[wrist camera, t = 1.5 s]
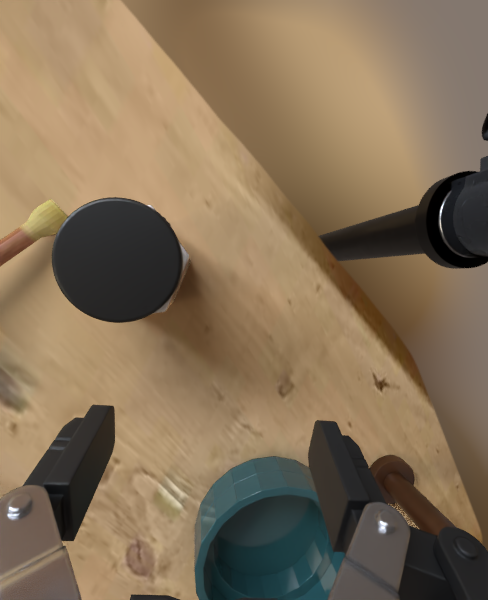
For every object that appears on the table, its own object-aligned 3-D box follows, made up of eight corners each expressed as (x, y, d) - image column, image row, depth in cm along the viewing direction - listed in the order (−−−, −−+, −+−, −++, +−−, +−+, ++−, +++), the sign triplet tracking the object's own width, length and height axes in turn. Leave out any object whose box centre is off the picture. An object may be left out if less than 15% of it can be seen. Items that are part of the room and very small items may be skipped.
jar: (185, 220, 33) (180, 190, 21) (195, 300, 34) (195, 313, 22) (92, 228, 32) (32, 201, 20) (105, 311, 33) (54, 331, 21)
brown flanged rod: (366, 458, 38) (463, 561, 24) (407, 452, 39) (524, 550, 25) (367, 499, 39) (463, 625, 25) (407, 493, 39) (522, 612, 26)
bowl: (191, 462, 35) (190, 500, 29) (329, 444, 37) (354, 477, 32) (199, 595, 37) (200, 657, 31) (332, 571, 39) (356, 624, 33)
